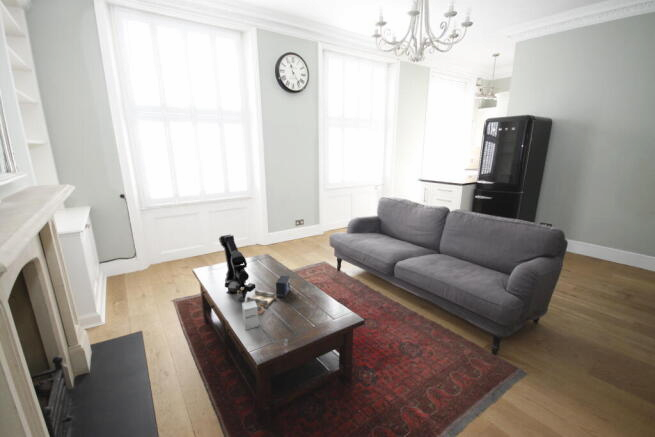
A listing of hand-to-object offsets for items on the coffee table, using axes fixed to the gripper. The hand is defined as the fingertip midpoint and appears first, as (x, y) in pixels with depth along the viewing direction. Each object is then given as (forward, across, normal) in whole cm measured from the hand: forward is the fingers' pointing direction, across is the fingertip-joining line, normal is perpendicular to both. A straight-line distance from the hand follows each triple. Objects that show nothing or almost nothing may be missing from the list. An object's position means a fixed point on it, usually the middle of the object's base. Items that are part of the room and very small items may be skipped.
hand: (241, 297), depth 186 cm
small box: (+4, +19, +20) cm, 28 cm away
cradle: (+4, +10, +7) cm, 13 cm away
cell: (+2, 0, 0) cm, 2 cm away
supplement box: (+4, +18, -17) cm, 25 cm away
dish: (+4, +14, -4) cm, 15 cm away
